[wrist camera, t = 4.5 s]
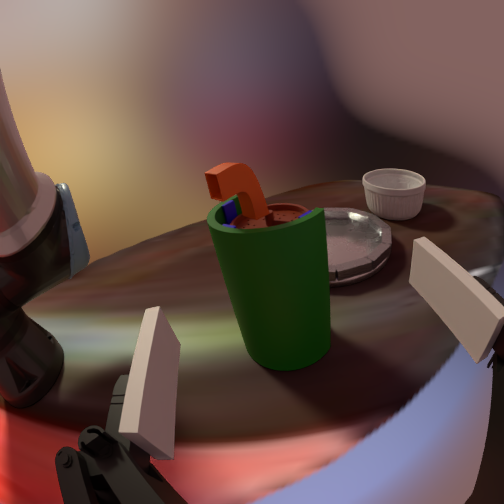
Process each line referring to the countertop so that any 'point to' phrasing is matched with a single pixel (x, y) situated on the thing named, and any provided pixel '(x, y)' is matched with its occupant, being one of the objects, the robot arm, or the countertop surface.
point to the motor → (271, 269)
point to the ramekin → (394, 193)
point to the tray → (355, 245)
